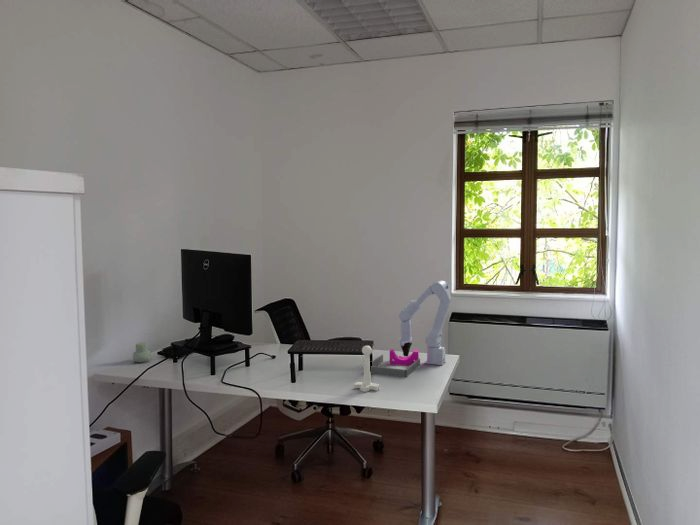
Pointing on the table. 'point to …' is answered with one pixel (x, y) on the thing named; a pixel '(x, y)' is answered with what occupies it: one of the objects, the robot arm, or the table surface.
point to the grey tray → (391, 370)
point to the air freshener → (141, 353)
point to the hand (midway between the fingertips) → (405, 356)
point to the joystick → (366, 373)
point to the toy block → (403, 358)
